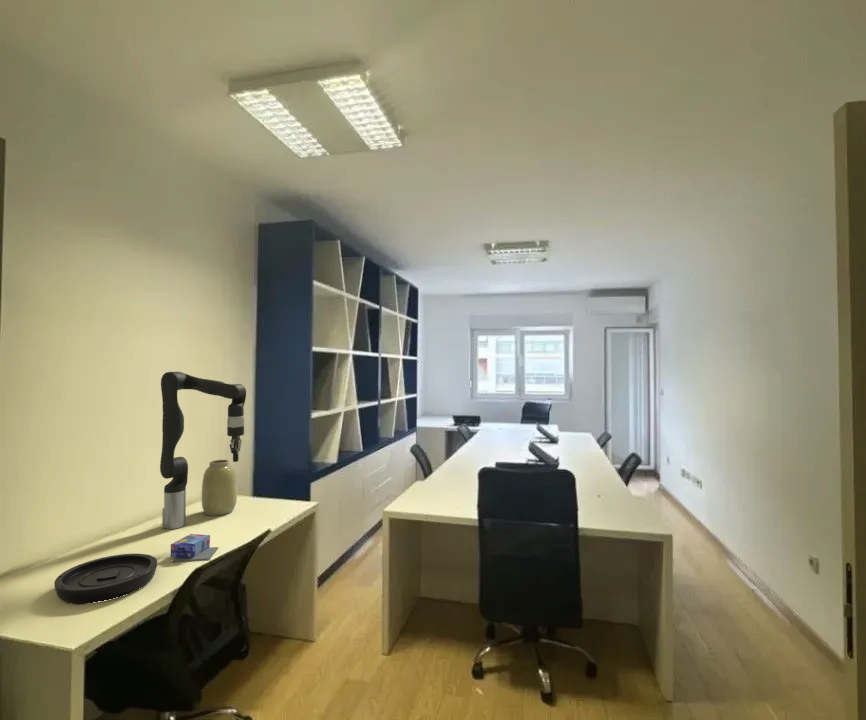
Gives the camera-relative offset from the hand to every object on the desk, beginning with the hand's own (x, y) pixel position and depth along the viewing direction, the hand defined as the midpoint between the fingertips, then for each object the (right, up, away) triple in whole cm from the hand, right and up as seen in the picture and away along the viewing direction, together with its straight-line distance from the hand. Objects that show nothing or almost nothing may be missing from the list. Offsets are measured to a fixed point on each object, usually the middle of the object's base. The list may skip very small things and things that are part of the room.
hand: (235, 461), depth 225 cm
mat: (-3, -32, -32) cm, 45 cm away
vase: (-19, -33, +25) cm, 45 cm away
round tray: (-21, -32, -58) cm, 70 cm away
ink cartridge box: (-5, -28, -24) cm, 38 cm away
